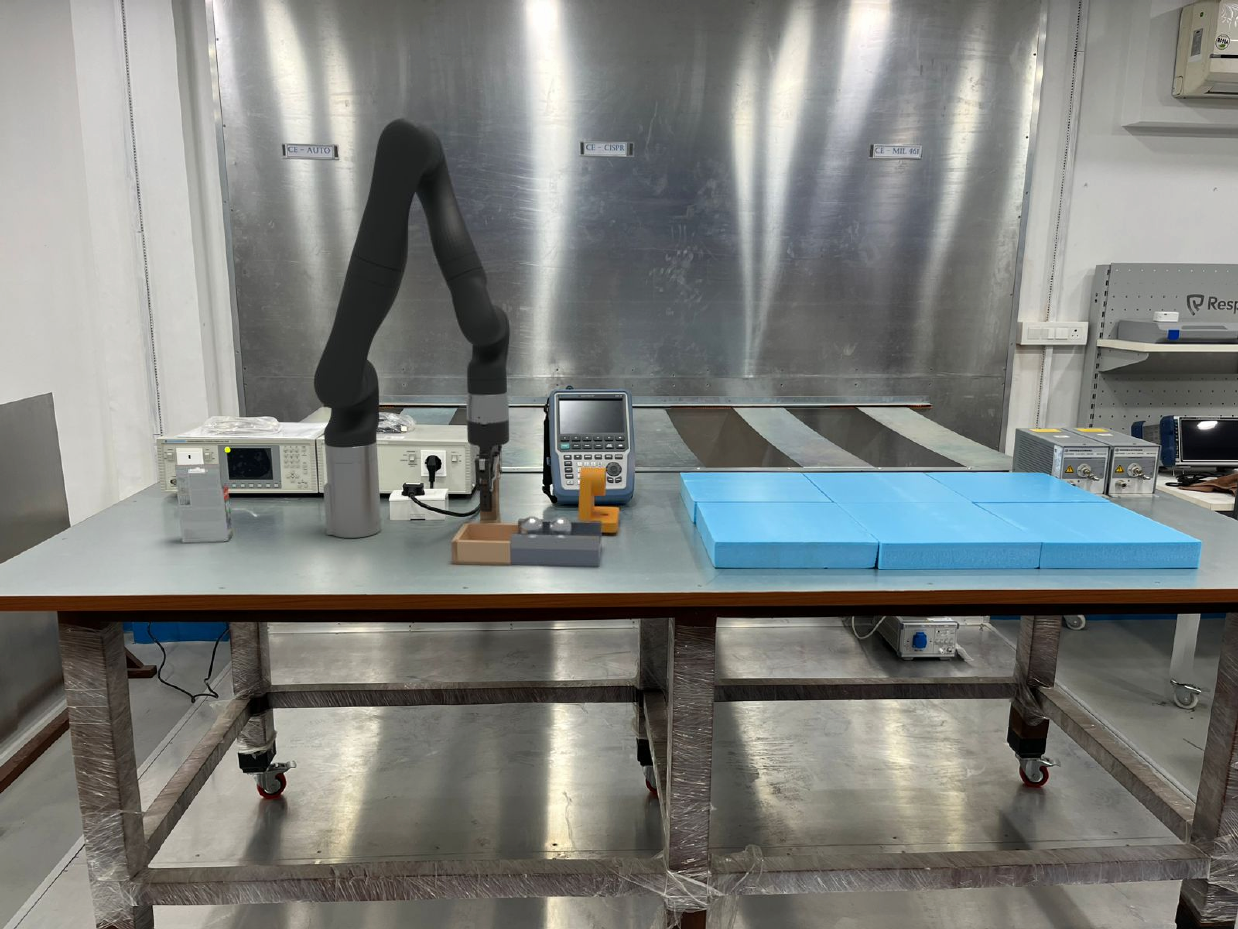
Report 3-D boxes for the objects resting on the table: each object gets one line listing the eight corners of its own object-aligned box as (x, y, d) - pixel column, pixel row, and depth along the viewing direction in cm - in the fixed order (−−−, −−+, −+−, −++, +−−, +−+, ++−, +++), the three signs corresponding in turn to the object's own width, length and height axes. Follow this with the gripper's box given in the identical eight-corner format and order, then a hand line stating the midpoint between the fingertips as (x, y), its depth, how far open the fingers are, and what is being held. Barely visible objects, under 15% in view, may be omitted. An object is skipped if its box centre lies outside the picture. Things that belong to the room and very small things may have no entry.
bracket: (616, 536, 160) (617, 475, 157) (578, 535, 160) (578, 474, 157) (619, 520, 170) (620, 462, 167) (583, 518, 170) (583, 461, 168)
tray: (452, 564, 144) (451, 541, 143) (465, 543, 154) (464, 522, 153) (510, 565, 143) (510, 543, 142) (519, 544, 154) (519, 523, 153)
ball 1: (519, 542, 146) (518, 520, 145) (522, 534, 150) (522, 513, 149) (542, 542, 146) (541, 520, 145) (544, 535, 150) (544, 513, 149)
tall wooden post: (479, 542, 155) (477, 468, 152) (485, 533, 160) (483, 461, 157) (495, 542, 155) (494, 468, 152) (500, 533, 160) (499, 461, 157)
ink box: (188, 537, 155) (179, 460, 152) (233, 535, 156) (226, 459, 153) (181, 544, 152) (172, 465, 148) (228, 542, 153) (220, 464, 149)
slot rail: (510, 564, 144) (510, 536, 142) (519, 544, 154) (519, 518, 153) (598, 567, 143) (598, 539, 142) (601, 546, 153) (601, 520, 152)
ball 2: (547, 542, 146) (547, 520, 145) (550, 535, 150) (550, 514, 149) (570, 543, 146) (570, 521, 145) (572, 536, 150) (572, 514, 149)
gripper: (475, 410, 159) (477, 494, 163) (458, 424, 145) (461, 516, 149) (514, 410, 159) (515, 495, 163) (502, 424, 145) (503, 517, 149)
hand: (490, 505), depth 156 cm, fingers open, 6 cm apart
